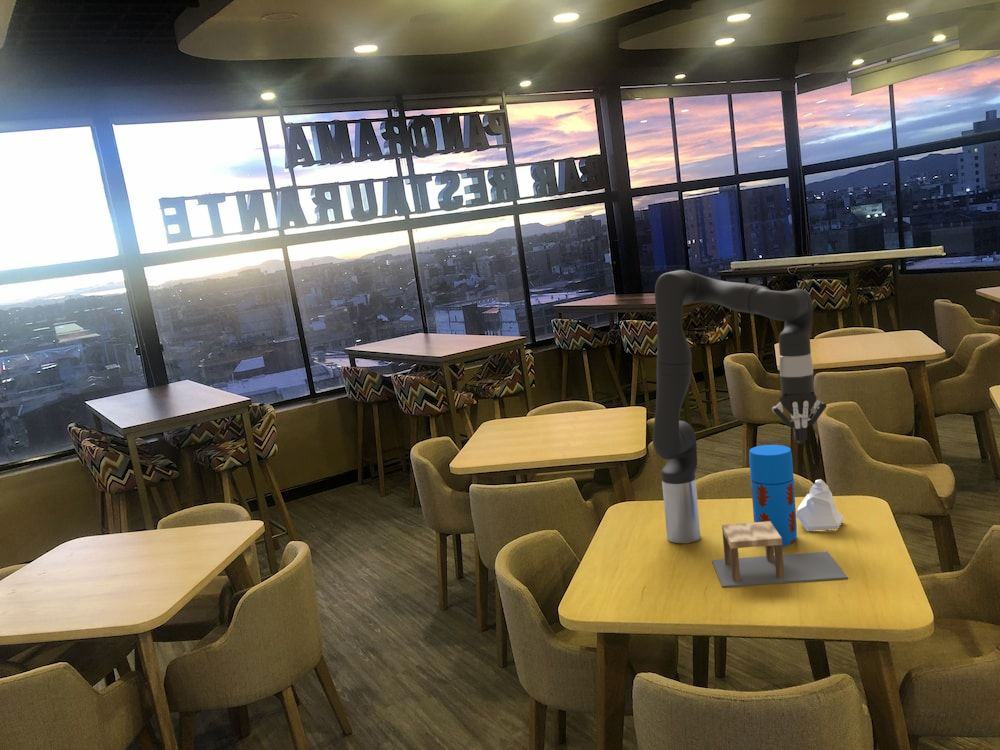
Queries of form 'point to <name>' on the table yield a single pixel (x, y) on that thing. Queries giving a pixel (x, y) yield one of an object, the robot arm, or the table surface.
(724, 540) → the stool
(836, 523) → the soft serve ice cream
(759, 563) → the mat
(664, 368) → the robot arm
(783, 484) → the thermos
